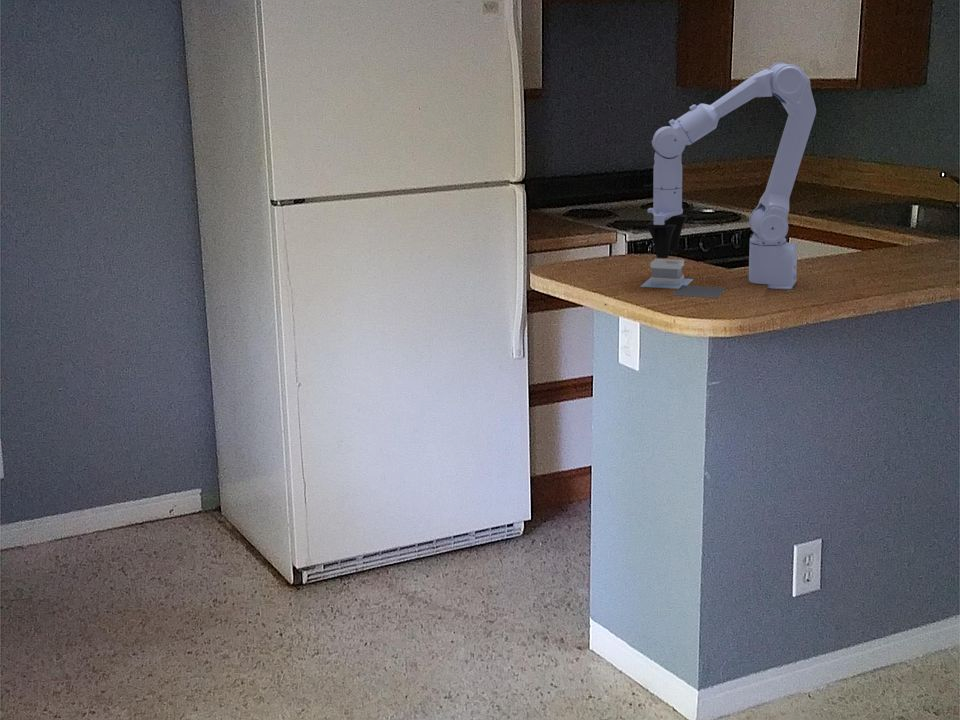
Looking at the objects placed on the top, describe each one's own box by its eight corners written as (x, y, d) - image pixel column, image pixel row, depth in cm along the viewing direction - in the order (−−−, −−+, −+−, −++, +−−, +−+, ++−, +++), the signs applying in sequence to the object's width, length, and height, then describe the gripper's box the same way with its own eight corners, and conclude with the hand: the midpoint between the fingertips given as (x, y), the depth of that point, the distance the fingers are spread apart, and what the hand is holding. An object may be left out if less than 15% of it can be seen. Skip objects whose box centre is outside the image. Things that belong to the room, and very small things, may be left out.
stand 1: (693, 282, 250) (693, 279, 250) (683, 292, 242) (683, 288, 242) (651, 280, 254) (651, 276, 253) (640, 290, 246) (640, 286, 245)
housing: (683, 281, 248) (684, 259, 247) (679, 285, 245) (679, 263, 244) (655, 279, 251) (655, 258, 249) (650, 284, 247) (650, 262, 246)
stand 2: (726, 291, 242) (726, 287, 242) (717, 301, 234) (717, 297, 234) (682, 289, 245) (682, 285, 245) (671, 299, 237) (671, 295, 237)
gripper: (657, 181, 250) (656, 246, 254) (638, 192, 237) (638, 260, 241) (691, 182, 247) (689, 247, 251) (674, 193, 235) (673, 261, 238)
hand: (667, 254), depth 246 cm, fingers open, 7 cm apart
